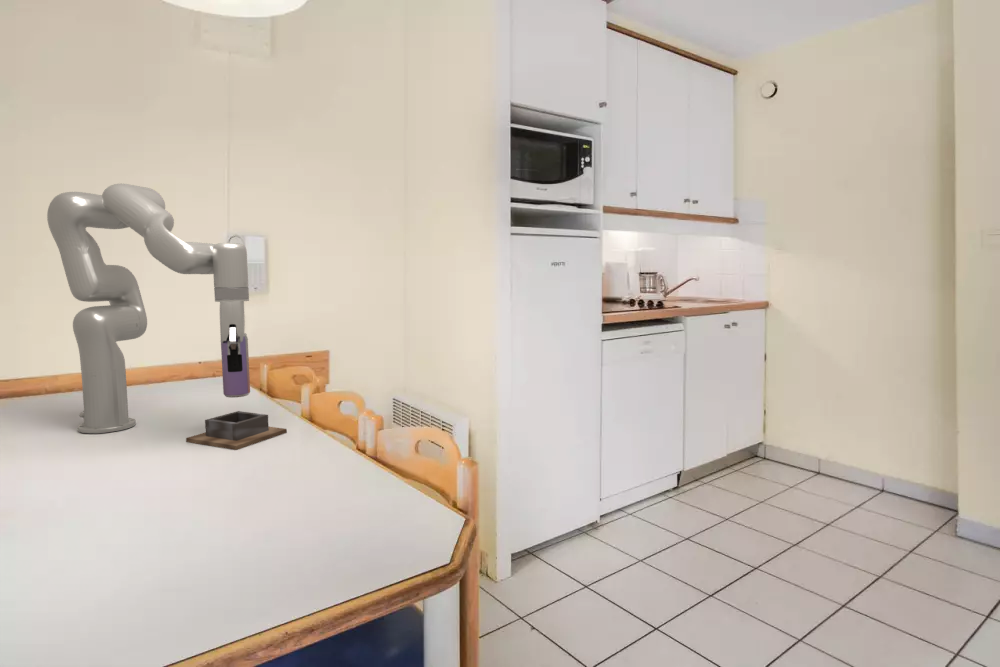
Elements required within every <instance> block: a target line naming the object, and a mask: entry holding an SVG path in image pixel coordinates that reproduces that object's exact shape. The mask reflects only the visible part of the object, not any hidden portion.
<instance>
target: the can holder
mask: <svg viewBox="0 0 1000 667" xmlns="http://www.w3.org/2000/svg"><path fill="white" fill-rule="evenodd" d="M204 423H205V424H204V426H205V427H204V428H205V432H201V433H198V434H195V435H192V436H188V437H186V438H185V440H186V441H185V442H186V443H191V444H198V445H202V446H208V447H213V448H214V447H215V448H220V449H228V450H232V451H233V450H234V451H237V450H241V449H244V448H246V447H250V446H253V445H255V444H258V443H261V442H264V441H267V440H270V439H272V438H275V437H278V436H282V435H284V434H287V433H288V431H287V428H282V427H275V426H269V414H264V413H256V412H249V411H240V410H237V411H233V412H230V413H229V412H228V413H225V414H222V415H219V416H215V417H211V418H207V419H205V420H204Z"/></svg>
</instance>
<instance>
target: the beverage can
mask: <svg viewBox="0 0 1000 667" xmlns="http://www.w3.org/2000/svg"><path fill="white" fill-rule="evenodd" d="M248 340H249V339H248V336H247V333H245V332H244V337H243V341H242V342H241V343H240V352H241V355H242V368H243V370H242V371H241V372H228V365H227V355H228V346H227V340H226V341H223V342H224V343H221V342H220V349H221V350H220V352H221V366H222V367H221V372H222V389H223V395H224V397H226V398H242V397H247V396H249V395H250V393H251V379H250V377H251V376H250V362H249V360H250V359H249V358H250V357H249V341H248ZM229 342H230V340H229ZM236 342H238V340H236Z"/></svg>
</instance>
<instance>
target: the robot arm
mask: <svg viewBox="0 0 1000 667" xmlns="http://www.w3.org/2000/svg"><path fill="white" fill-rule="evenodd" d="M46 219H47V223H48V224H47V225H48V228H49V231H50V234H51V235H52V238H53V240H54V242H55V244H56V247H57V249H58V252H59V254H60V258H61V262H62V266H63V270H64V273H65V277H66V280H67V284H68V287H69V290H70V292H71V295H72V296H73V297H74V299H75V300H77V301H80V302H85V303H87V302H88V303H95V302H96V303H97V302H109V304H107V305H97V306H96V305H95V306H94V305H93V306H89V307H86V308H83V309H82V310H80V311H78V312H77V313H76V314H75V316H74V317H73V321H72V331H73V334H74V337H75V340H76V343H77V348H78V354H79V361H80V371H81V384H82V385H81V386H82V387H81V388H82V400H83V401H82V402H83V411H82V412H80V413H79V414H78V416H79V418H83V423H79V425H78V426H77V431H78V432H79V433H83V434H105V433H112V432H119V431H123V430H126V429H129V428H132V427H134V426H135V425H136V424H137V422H136V419H135V418H133V417H129V404H128V403H129V402H128V387H127V372H126V360H125V356H124V353H123V351H122V349H121V348H120V346H119V345H118V343H117V342H121V341H129V340H135V339H138V338H140V337H141V336H143V335H144V334H145V333H146V330H147V327H148V316H147V313H146V308H145V304H144V302H143V298H142V295H141V290H140V287H139V283H138V280H137V278H136V277H135V275H134V274H133V272H132V271H131V270H130V269H128V268H126V267H125V266H122V265H119V264H106V263H105V262H104V259H103V256H102V252H101V248H100V245H98V244H99V243H98V242H97V241H96V240H95V238H94V237H93V236H92V235H91V233H89V232H88V231H87V228H95V229H104V230H105V229H106V230H123V229H127V228H130V229H131V230H132V231H133V232H135V233H136V234H138V235H139V236H141V237H142V238H143V241H144V242H143V243H144V245H145V247H146V249H147V251H148V252H149V254H150V255H151V256H152V257H153V258H154V259H156V261H158V262H159V263H161V264H162V265H163V266H165V267H166V268H168V269H169V270H171V271H172V272H175V273H178V274H182V275H213V288H214V289H213V290H214V293H213V294H214V302H215V303H216V302H217V303H219V326H220V327H219V328H220V329H219V331H220V332H219V333H220V344H221V343H224V342H223V341H226V340H227V346H228V355H227V365H228V372H241V371H242V370H243V368H242V355H241V352H240V343H241V342H242V341H243V337H244V333H245V322H246V321H245V302H249V301H250V289H249V274H248V273H249V272H248V254H247V253H248V252H247V251H248V250H247V248H246V246H245V245H244V244H242V243H235V242H222V243H221V242H220V243H207V242H197V241H195V242H194V241H184V240H183V239H182V238H179V237H178V236H176V235H175V234H174V233H173V232H172V231H173V229H174V224H175V219H174V217H173V215H172V214H171V212H169V211H168V210H166V202H165V200H164V198H163V197H162V195H161V194H160V193H159V192H158V191H156V190H155V189H153V188H150V187H144V186H141V185H134V184H129V183H113V184H111V185H109V186H107V187H106V188H105V189H104V191H103V192H102V194H96V193H91V192H83V191H66V192H62V193H59V194H57V195H56V196H54V197H53V199H52V200H51V201H50V202H49V205H48V208H47V214H46ZM229 340H230V342H229ZM236 340H238V342H236Z"/></svg>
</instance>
